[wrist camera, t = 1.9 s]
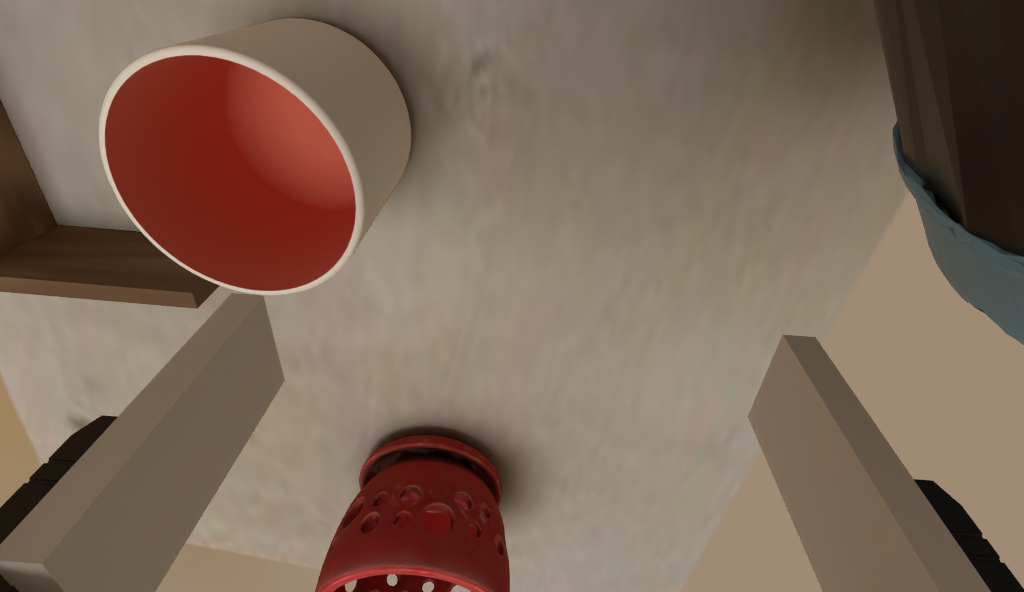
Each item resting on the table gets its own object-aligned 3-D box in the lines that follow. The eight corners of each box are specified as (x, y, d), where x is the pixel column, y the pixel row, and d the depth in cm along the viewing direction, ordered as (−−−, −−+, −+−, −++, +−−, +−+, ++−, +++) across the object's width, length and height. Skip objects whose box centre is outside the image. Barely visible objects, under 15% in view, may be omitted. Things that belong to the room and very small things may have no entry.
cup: (198, 29, 26) (37, 65, 18) (390, 1, 25) (313, 25, 17) (273, 212, 32) (176, 305, 23) (433, 195, 31) (392, 287, 22)
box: (-121, -120, 24) (-301, -139, 19) (165, -96, 23) (62, -110, 18) (47, 237, 33) (-40, 288, 28) (249, 254, 33) (197, 308, 28)
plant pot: (380, 519, 48) (337, 666, 38) (345, 419, 41) (282, 568, 31) (520, 519, 47) (514, 671, 37) (510, 417, 40) (498, 570, 30)
